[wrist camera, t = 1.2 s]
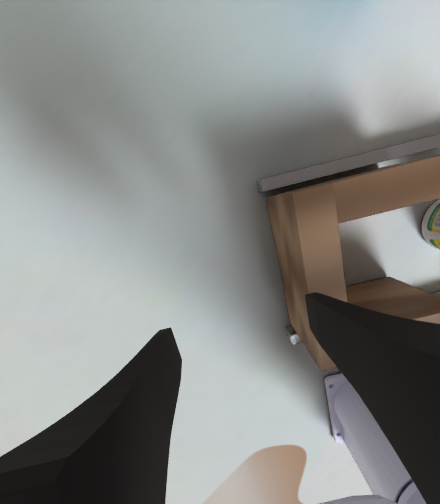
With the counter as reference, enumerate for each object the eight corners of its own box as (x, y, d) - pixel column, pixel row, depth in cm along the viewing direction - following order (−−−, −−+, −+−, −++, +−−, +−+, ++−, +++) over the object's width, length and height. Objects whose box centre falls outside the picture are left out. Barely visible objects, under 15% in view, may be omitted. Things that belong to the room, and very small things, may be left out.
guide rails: (485, 288, 22) (505, 294, 21) (287, 335, 23) (292, 344, 21) (492, 121, 19) (516, 114, 17) (256, 181, 19) (260, 179, 18)
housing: (390, 299, 22) (463, 338, 15) (290, 323, 22) (321, 371, 16) (381, 167, 19) (466, 149, 13) (266, 196, 19) (292, 193, 13)
